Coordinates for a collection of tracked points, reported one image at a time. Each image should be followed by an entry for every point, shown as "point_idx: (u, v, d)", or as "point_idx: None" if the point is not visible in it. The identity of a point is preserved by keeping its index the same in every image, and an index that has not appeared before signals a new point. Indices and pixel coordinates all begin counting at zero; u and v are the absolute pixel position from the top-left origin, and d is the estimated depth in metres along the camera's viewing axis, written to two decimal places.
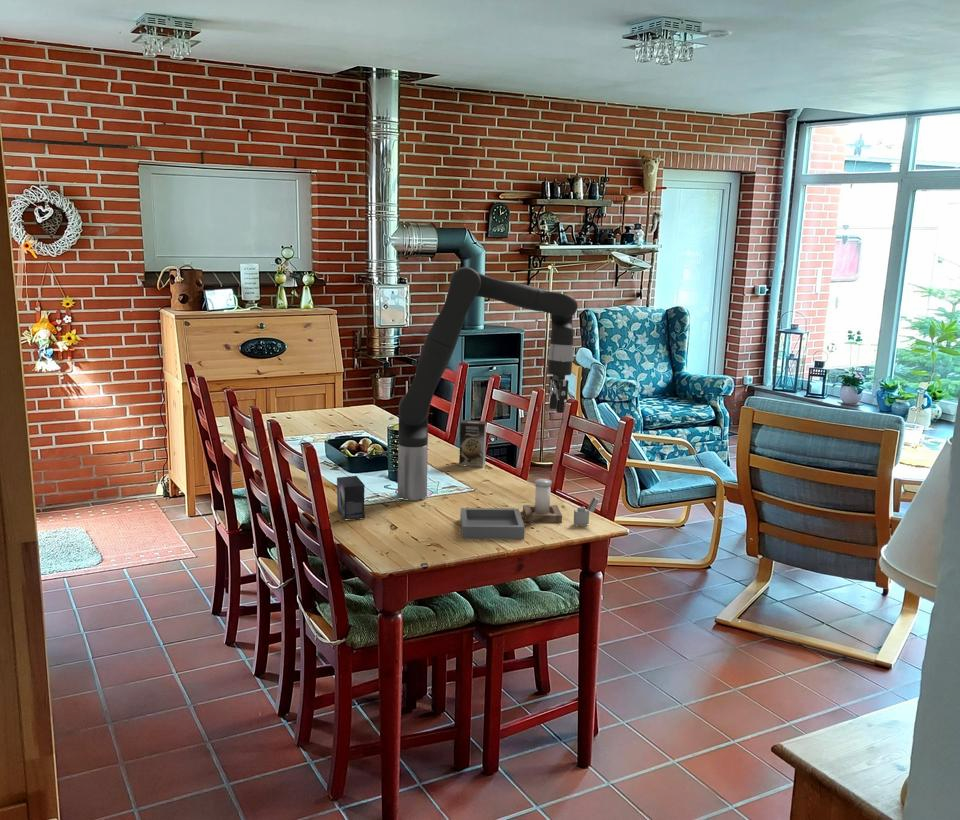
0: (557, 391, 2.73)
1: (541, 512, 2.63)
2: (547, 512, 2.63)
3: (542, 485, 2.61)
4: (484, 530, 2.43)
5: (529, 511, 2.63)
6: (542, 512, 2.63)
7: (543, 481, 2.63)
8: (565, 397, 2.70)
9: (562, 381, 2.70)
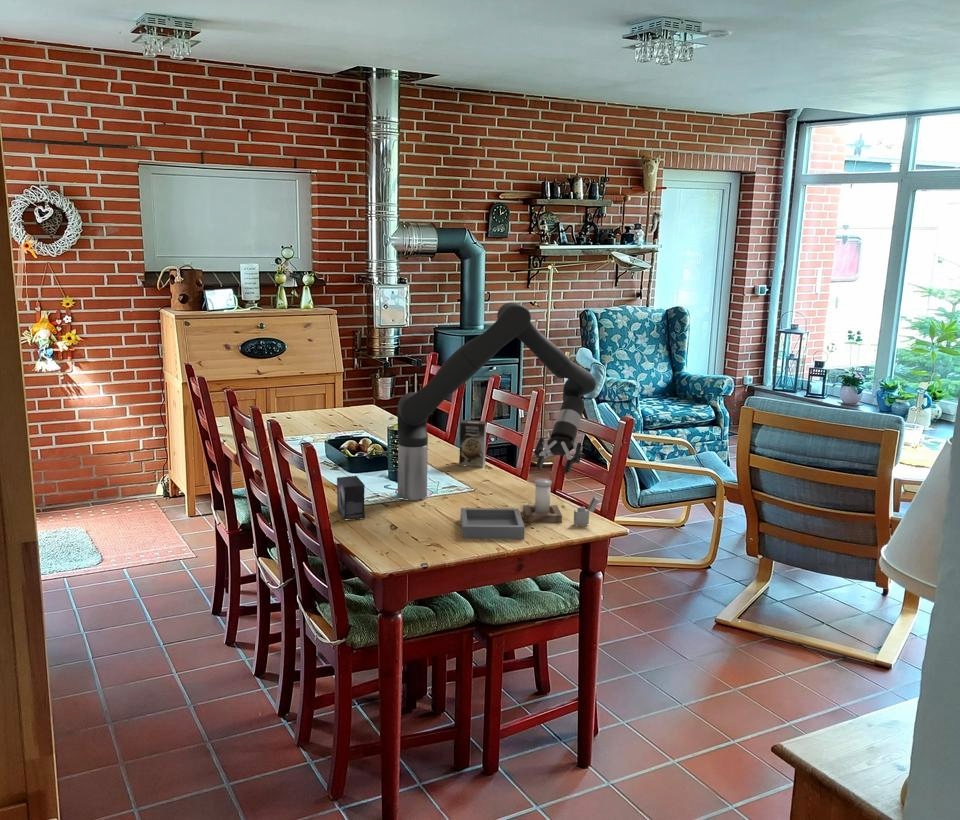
0: (569, 452, 2.70)
1: (541, 512, 2.63)
2: (547, 512, 2.63)
3: (542, 485, 2.61)
4: (484, 530, 2.43)
5: (529, 511, 2.63)
6: (542, 512, 2.63)
7: (543, 481, 2.62)
8: (579, 460, 2.70)
9: (581, 445, 2.71)
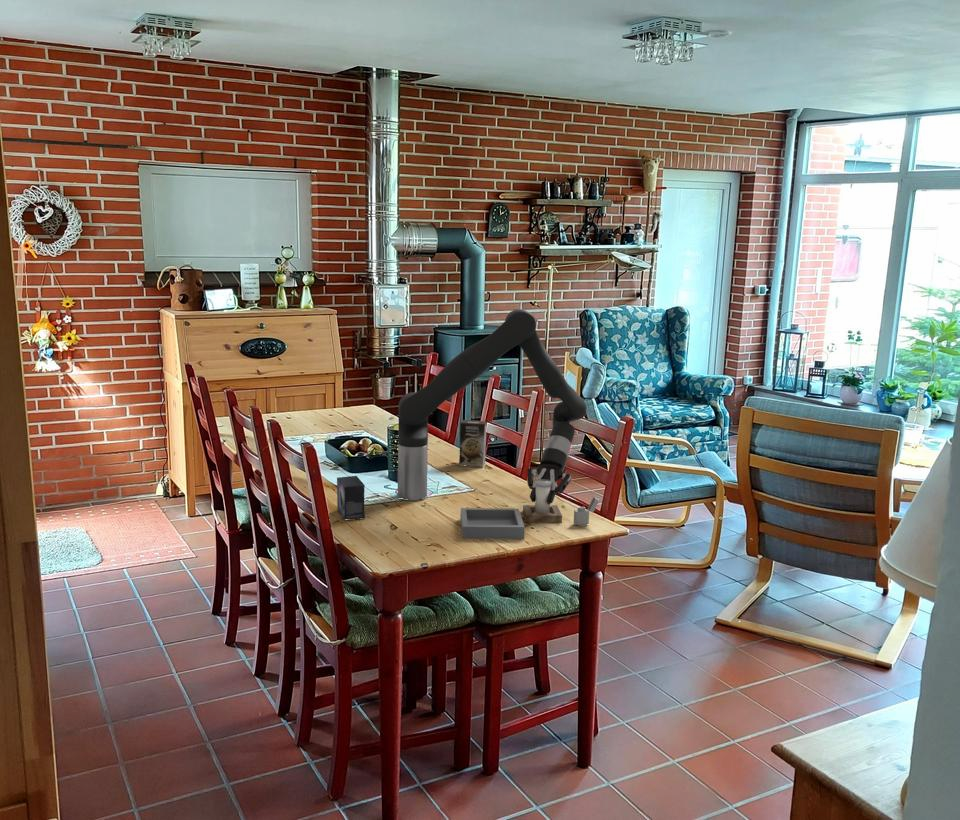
0: (554, 482, 2.64)
1: (541, 512, 2.63)
2: (547, 512, 2.63)
3: (542, 485, 2.61)
4: (484, 530, 2.43)
5: (529, 511, 2.63)
6: (542, 512, 2.63)
7: (543, 481, 2.62)
8: (561, 491, 2.63)
9: (569, 476, 2.64)
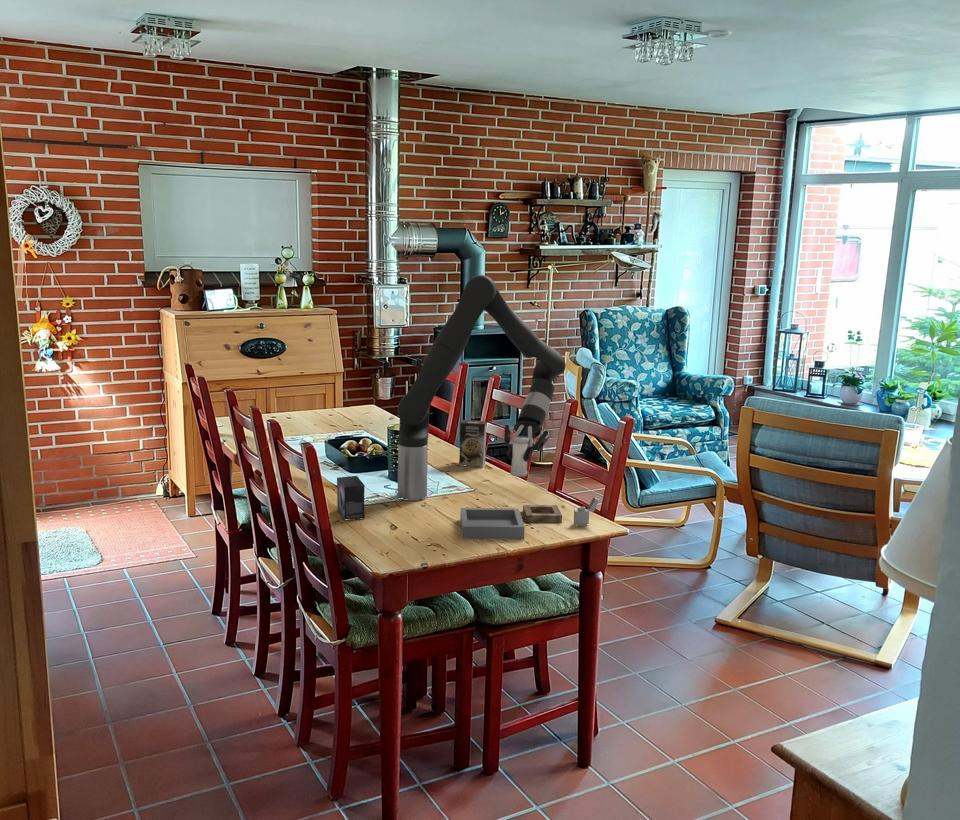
0: (532, 439, 2.55)
1: (518, 469, 2.54)
2: (524, 470, 2.55)
3: (519, 441, 2.52)
4: (484, 530, 2.43)
5: (529, 511, 2.63)
6: (519, 469, 2.54)
7: (520, 437, 2.54)
8: (539, 448, 2.55)
9: (547, 433, 2.55)
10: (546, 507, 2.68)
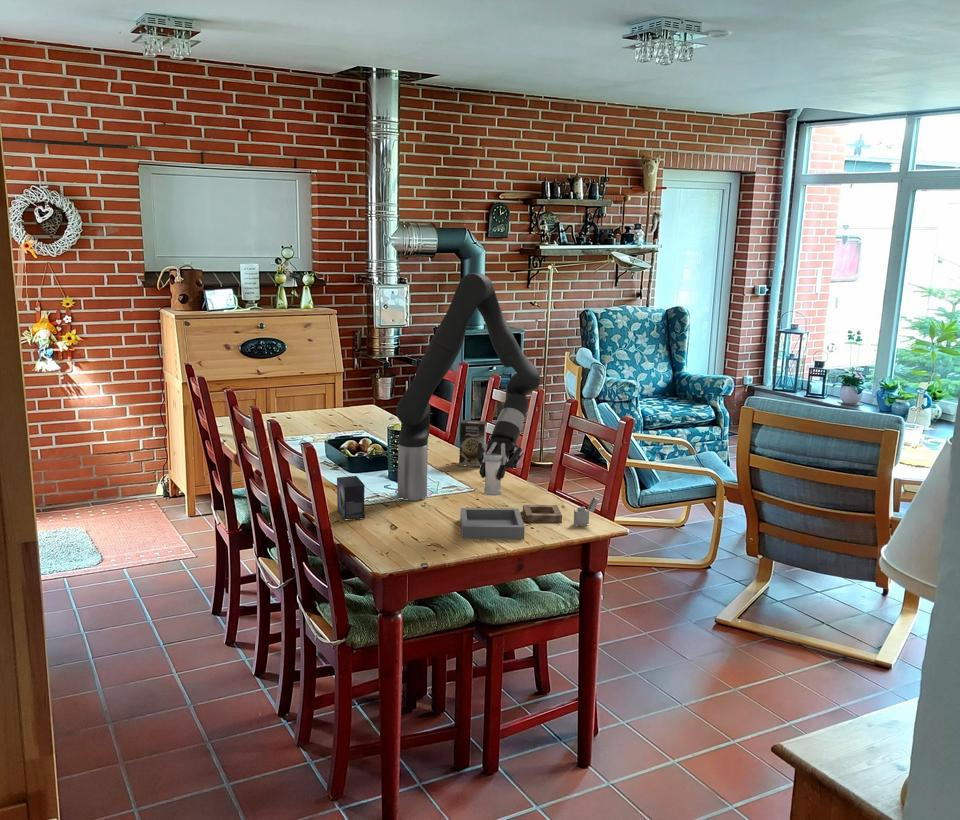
0: (505, 456, 2.49)
1: (491, 488, 2.48)
2: (498, 488, 2.48)
3: (491, 459, 2.46)
4: (484, 530, 2.43)
5: (529, 511, 2.63)
6: (492, 488, 2.48)
7: (493, 455, 2.48)
8: (513, 466, 2.48)
9: (521, 450, 2.49)
10: (546, 507, 2.68)
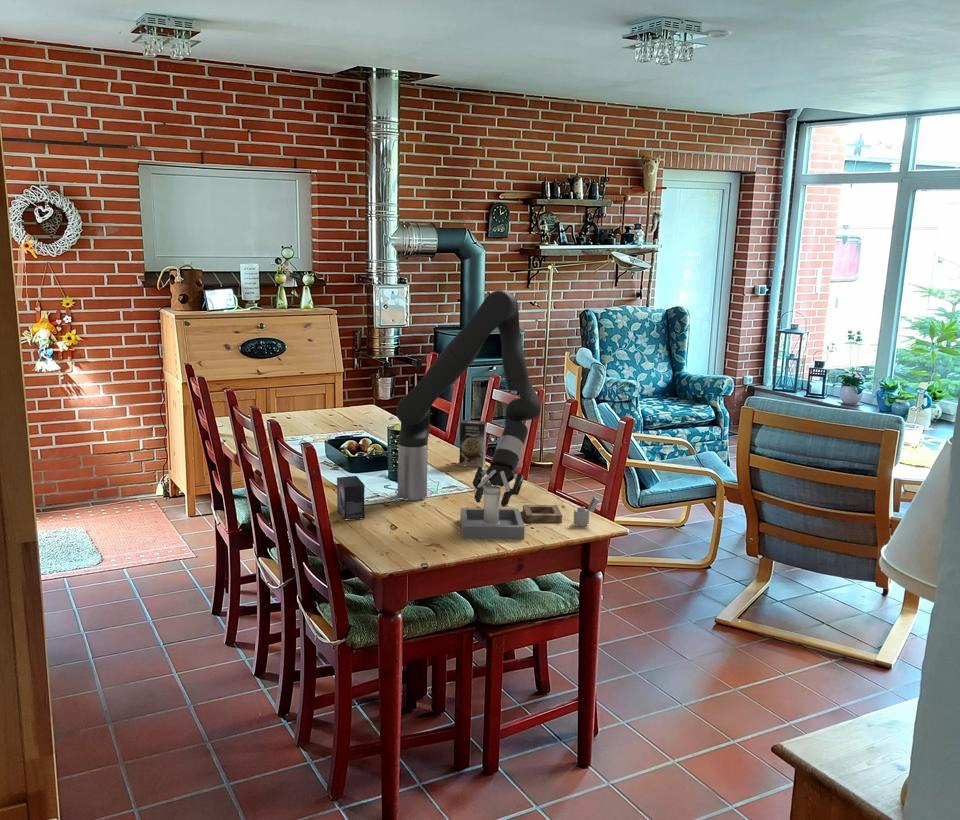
0: (508, 483, 2.50)
1: (490, 521, 2.50)
2: (496, 521, 2.50)
3: (490, 493, 2.48)
4: (484, 530, 2.43)
5: (529, 511, 2.63)
6: (491, 521, 2.50)
7: (492, 488, 2.50)
8: (517, 492, 2.50)
9: (521, 475, 2.51)
10: (546, 507, 2.68)
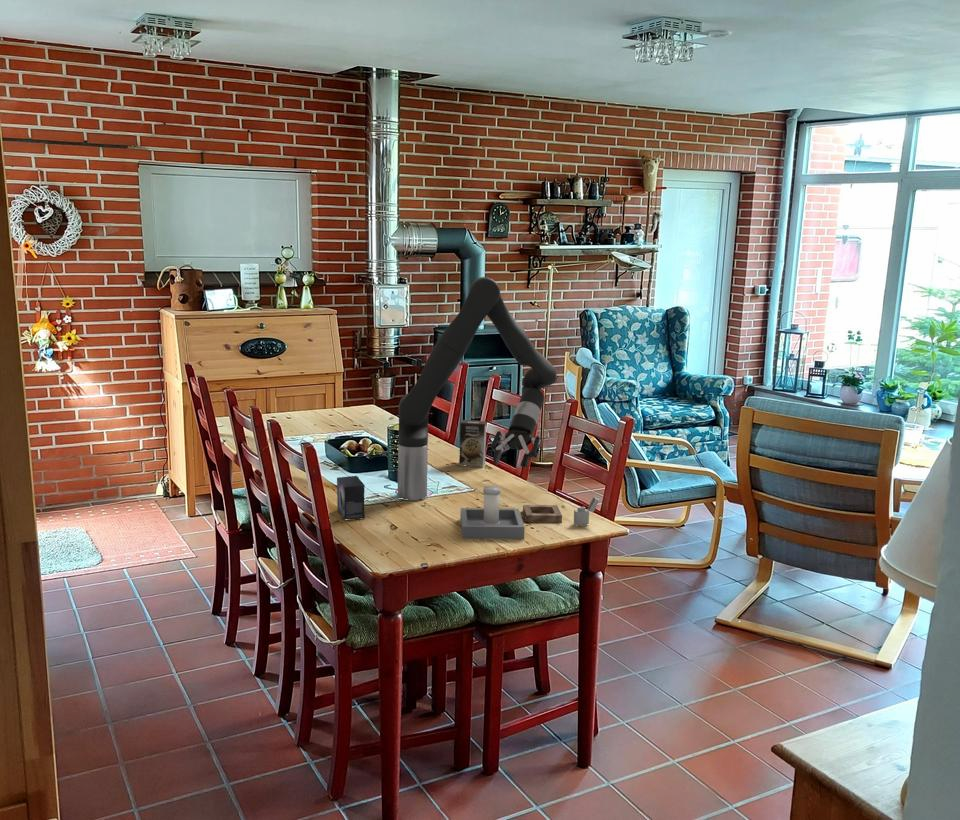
0: (526, 446, 2.60)
1: (490, 521, 2.50)
2: (496, 521, 2.50)
3: (490, 492, 2.48)
4: (484, 530, 2.43)
5: (529, 511, 2.63)
6: (491, 521, 2.50)
7: (491, 488, 2.50)
8: (536, 454, 2.60)
9: (539, 438, 2.61)
10: (546, 507, 2.68)
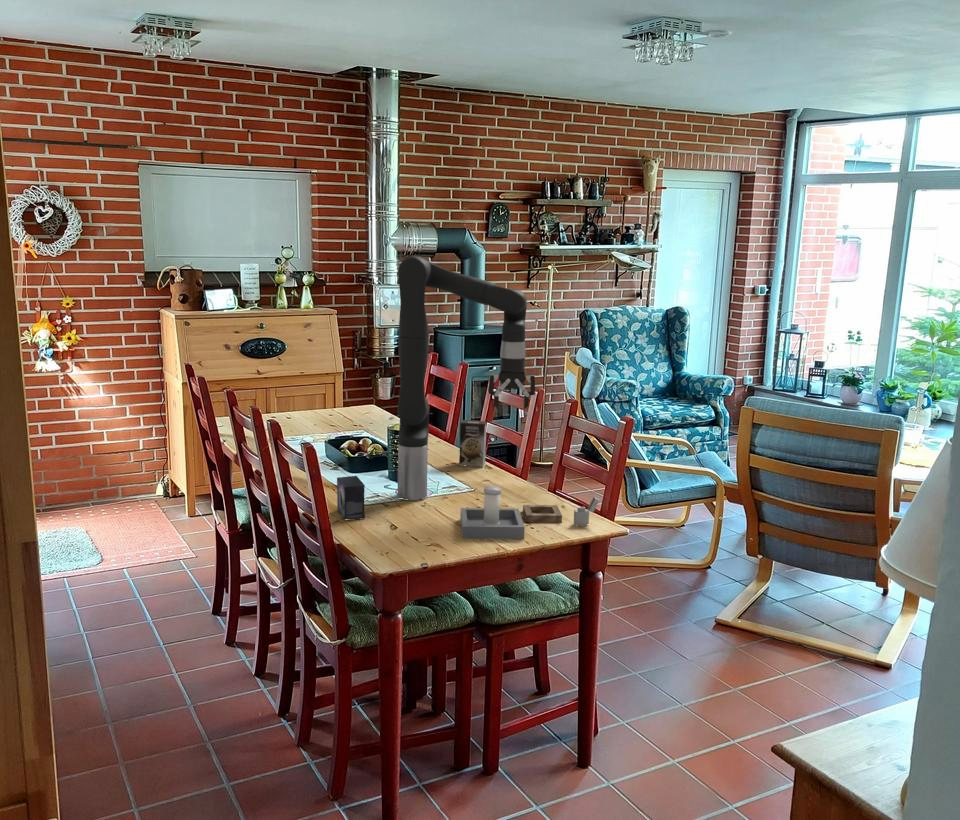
0: (524, 388, 2.70)
1: (490, 521, 2.50)
2: (496, 521, 2.50)
3: (490, 493, 2.48)
4: (484, 530, 2.43)
5: (529, 511, 2.63)
6: (491, 521, 2.50)
7: (492, 488, 2.50)
8: None
9: (534, 377, 2.70)
10: (546, 507, 2.68)
